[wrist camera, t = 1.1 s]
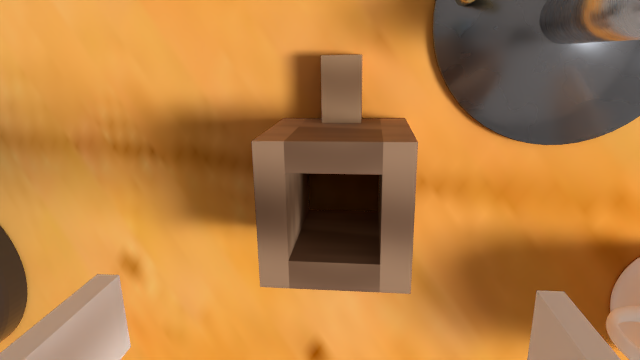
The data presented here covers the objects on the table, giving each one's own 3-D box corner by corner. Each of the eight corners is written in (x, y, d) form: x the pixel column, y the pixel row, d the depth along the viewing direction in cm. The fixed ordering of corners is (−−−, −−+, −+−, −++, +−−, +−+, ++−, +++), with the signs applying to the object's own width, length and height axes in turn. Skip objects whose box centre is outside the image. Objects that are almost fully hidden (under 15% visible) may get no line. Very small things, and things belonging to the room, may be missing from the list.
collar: (400, 233, 30) (410, 293, 22) (287, 229, 31) (260, 286, 23) (407, 53, 27) (421, 53, 19) (280, 56, 28) (246, 56, 20)
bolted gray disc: (769, -6, 24) (1009, -43, 15) (556, 190, 28) (643, 253, 19) (573, -199, 22) (708, -368, 13) (381, 37, 27) (385, 28, 18)
